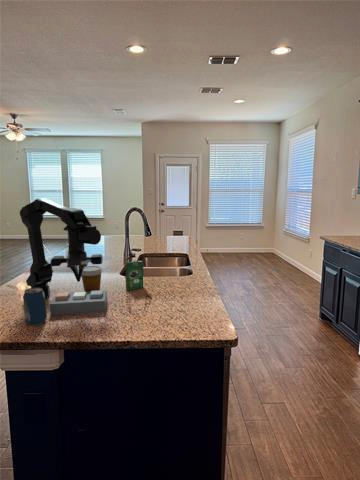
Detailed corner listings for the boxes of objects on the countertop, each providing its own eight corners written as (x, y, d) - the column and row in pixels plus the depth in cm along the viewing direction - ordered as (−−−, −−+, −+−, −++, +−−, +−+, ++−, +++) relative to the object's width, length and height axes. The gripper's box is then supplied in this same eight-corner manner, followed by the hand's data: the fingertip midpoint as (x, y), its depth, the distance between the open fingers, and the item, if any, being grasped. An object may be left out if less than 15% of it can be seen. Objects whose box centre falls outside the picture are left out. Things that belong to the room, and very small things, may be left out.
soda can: (49, 317, 116) (47, 286, 114) (42, 326, 109) (39, 293, 107) (30, 318, 116) (27, 286, 114) (22, 326, 109) (18, 293, 107)
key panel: (50, 315, 118) (49, 304, 117) (57, 303, 130) (56, 293, 129) (105, 311, 121) (104, 300, 120) (107, 300, 133) (106, 290, 132)
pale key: (73, 306, 122) (72, 296, 122) (75, 301, 127) (74, 292, 126) (85, 305, 123) (84, 295, 122) (86, 301, 127) (86, 291, 127)
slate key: (90, 304, 123) (90, 294, 123) (91, 300, 128) (91, 290, 127) (102, 303, 124) (101, 294, 123) (103, 299, 128) (102, 290, 128)
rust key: (56, 306, 121) (55, 296, 121) (58, 302, 126) (57, 292, 125) (67, 305, 122) (67, 295, 121) (69, 301, 126) (69, 292, 126)
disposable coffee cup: (80, 299, 135) (79, 272, 132) (81, 291, 144) (80, 266, 141) (103, 297, 137) (102, 270, 135) (103, 290, 146) (101, 265, 144)
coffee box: (141, 286, 151) (141, 259, 149) (144, 287, 149) (143, 261, 147) (125, 289, 147) (124, 261, 145) (128, 290, 145) (127, 263, 143)
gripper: (45, 247, 111) (48, 289, 114) (99, 245, 114) (101, 286, 117) (52, 241, 122) (55, 280, 125) (101, 240, 125) (103, 277, 128)
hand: (78, 281), depth 123 cm, fingers closed
